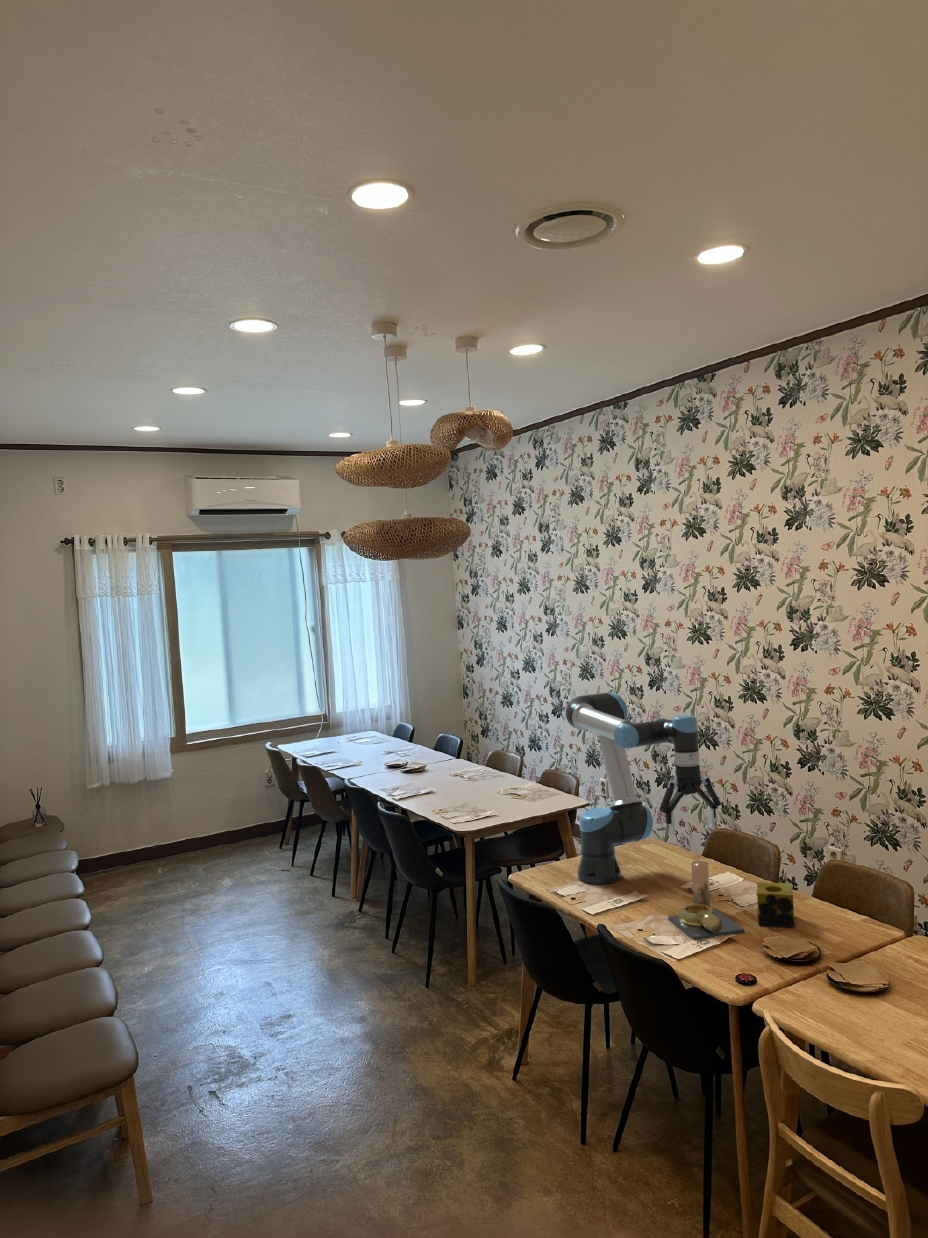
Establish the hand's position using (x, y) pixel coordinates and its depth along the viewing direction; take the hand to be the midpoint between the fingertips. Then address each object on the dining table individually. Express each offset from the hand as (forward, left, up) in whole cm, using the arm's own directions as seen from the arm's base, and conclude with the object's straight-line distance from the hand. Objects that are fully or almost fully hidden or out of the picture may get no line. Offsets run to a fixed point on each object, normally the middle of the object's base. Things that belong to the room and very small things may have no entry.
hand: (692, 831), depth 268 cm
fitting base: (+17, -6, -23) cm, 29 cm away
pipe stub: (+4, 0, -23) cm, 23 cm away
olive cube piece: (+21, +15, -23) cm, 35 cm away
